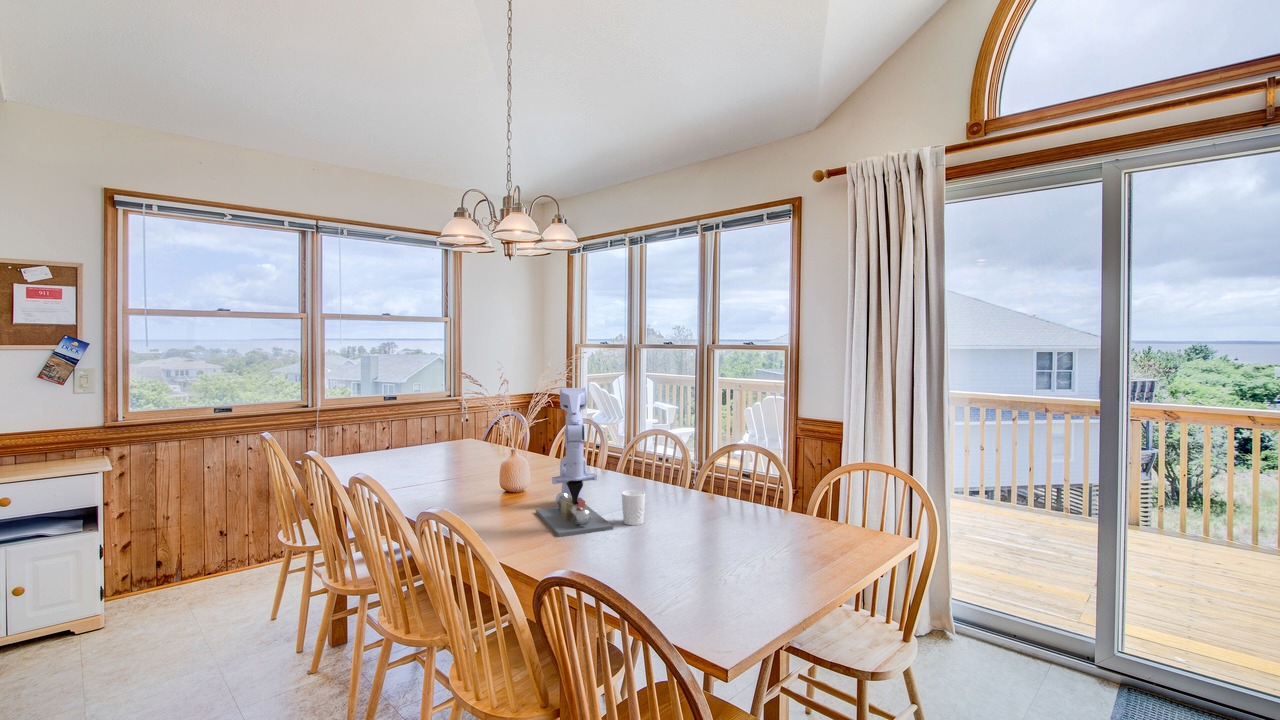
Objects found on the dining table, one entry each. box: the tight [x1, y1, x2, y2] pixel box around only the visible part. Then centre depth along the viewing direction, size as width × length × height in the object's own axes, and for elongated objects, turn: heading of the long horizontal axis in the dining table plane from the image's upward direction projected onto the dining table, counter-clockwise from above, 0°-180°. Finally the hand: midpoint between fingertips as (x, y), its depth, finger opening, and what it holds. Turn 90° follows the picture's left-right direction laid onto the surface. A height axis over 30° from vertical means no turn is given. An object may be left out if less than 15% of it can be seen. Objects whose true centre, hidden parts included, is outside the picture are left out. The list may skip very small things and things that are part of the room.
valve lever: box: [569, 494, 586, 508], centre depth 190 cm, size 12×3×2 cm, turn 23°
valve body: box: [555, 491, 592, 526], centre depth 194 cm, size 25×6×6 cm, turn 24°
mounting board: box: [535, 503, 614, 538], centre depth 195 cm, size 28×18×1 cm, turn 24°
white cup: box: [621, 489, 646, 526], centre depth 193 cm, size 8×8×10 cm
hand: (574, 504), depth 186 cm, fingers closed
